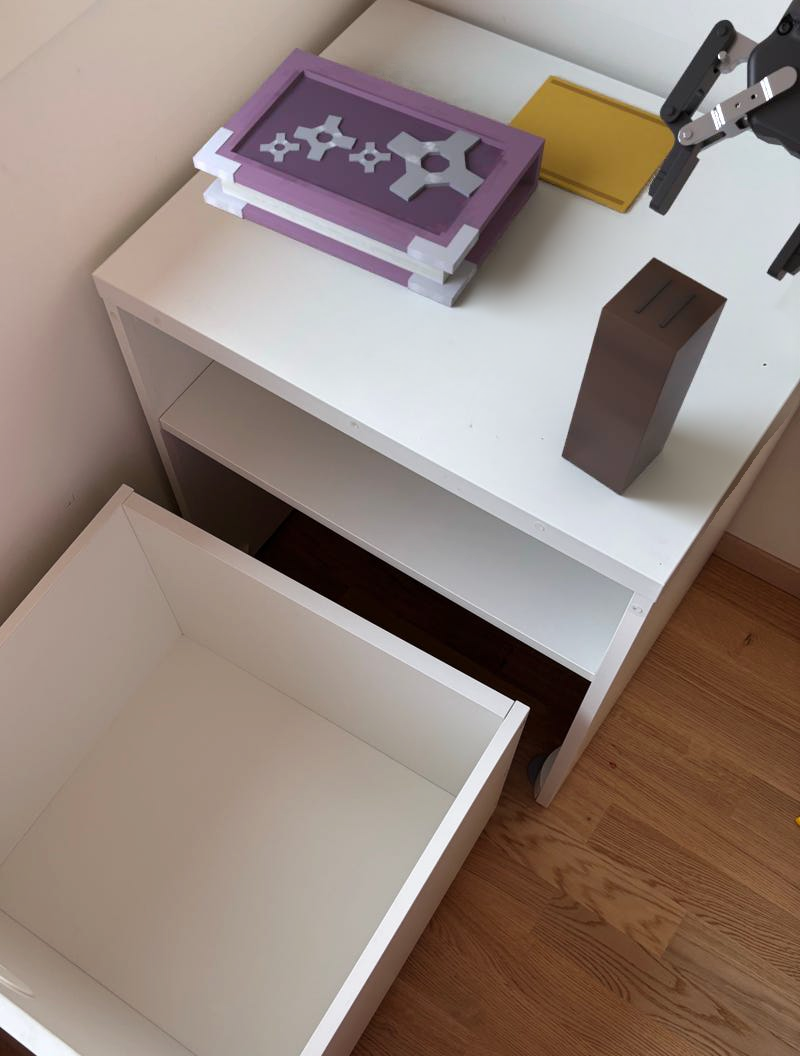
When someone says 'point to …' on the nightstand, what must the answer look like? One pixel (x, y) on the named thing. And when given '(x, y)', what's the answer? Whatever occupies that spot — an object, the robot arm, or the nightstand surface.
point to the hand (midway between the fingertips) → (713, 243)
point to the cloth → (594, 142)
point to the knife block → (639, 372)
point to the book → (372, 173)
